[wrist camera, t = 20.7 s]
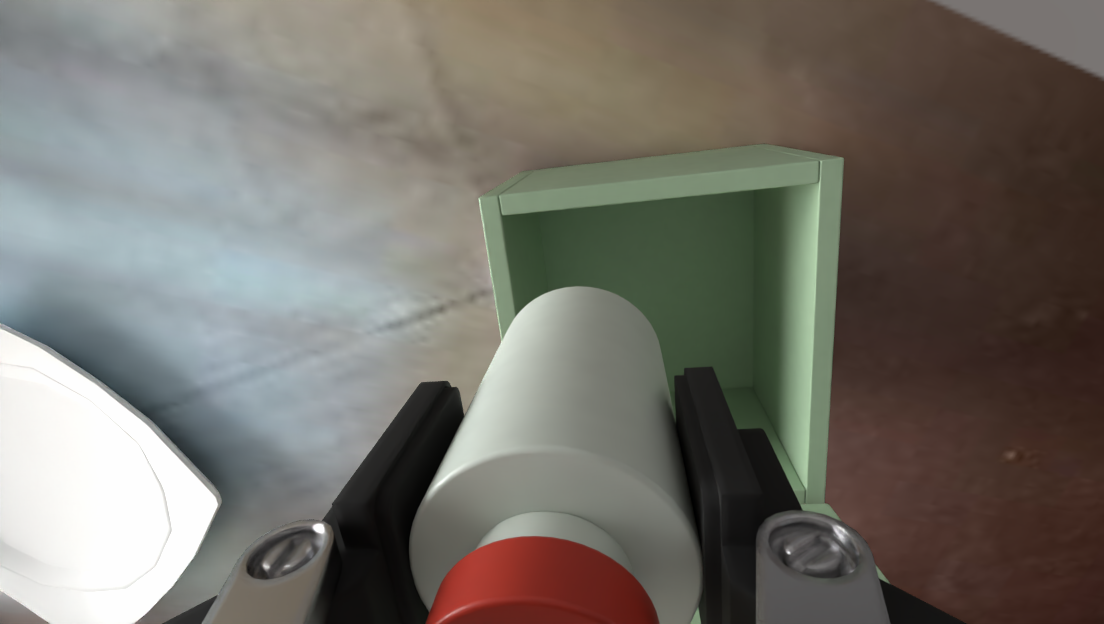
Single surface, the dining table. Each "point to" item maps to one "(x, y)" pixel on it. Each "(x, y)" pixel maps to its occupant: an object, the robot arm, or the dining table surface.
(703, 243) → the chest
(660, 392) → the spice bottle
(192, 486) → the plate
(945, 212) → the dining table surface
